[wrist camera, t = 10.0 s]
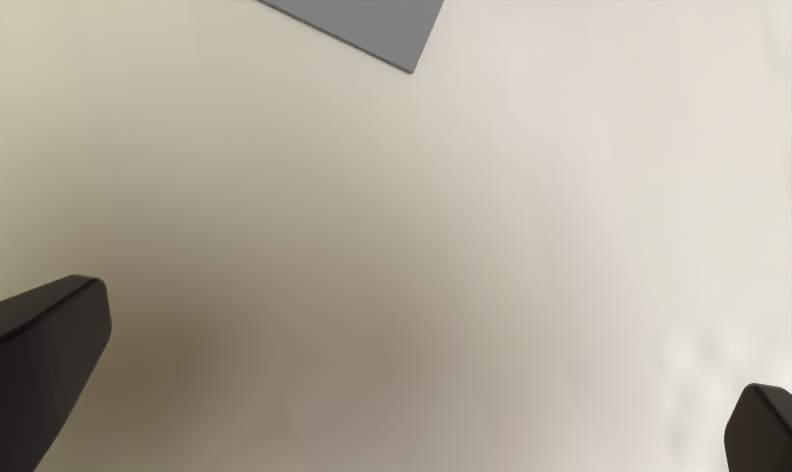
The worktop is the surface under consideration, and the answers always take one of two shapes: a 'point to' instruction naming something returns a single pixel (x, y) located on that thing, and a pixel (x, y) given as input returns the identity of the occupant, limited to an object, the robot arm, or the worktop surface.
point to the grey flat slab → (371, 24)
